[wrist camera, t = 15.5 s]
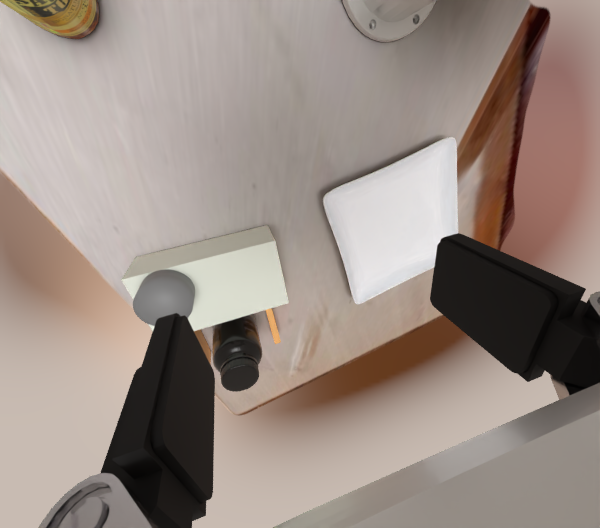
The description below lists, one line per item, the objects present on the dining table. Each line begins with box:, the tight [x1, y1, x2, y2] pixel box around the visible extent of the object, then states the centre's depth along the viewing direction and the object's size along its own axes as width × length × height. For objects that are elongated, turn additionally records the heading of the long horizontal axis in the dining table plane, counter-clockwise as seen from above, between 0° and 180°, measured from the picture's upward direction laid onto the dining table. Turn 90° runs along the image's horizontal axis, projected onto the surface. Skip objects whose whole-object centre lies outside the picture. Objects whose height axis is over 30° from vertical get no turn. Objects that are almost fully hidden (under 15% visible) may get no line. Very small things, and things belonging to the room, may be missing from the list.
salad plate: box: [323, 137, 458, 304], centre depth 42 cm, size 21×21×3 cm
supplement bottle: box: [213, 314, 262, 391], centre depth 38 cm, size 7×7×12 cm
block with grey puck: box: [121, 225, 289, 363], centre depth 37 cm, size 18×20×9 cm
